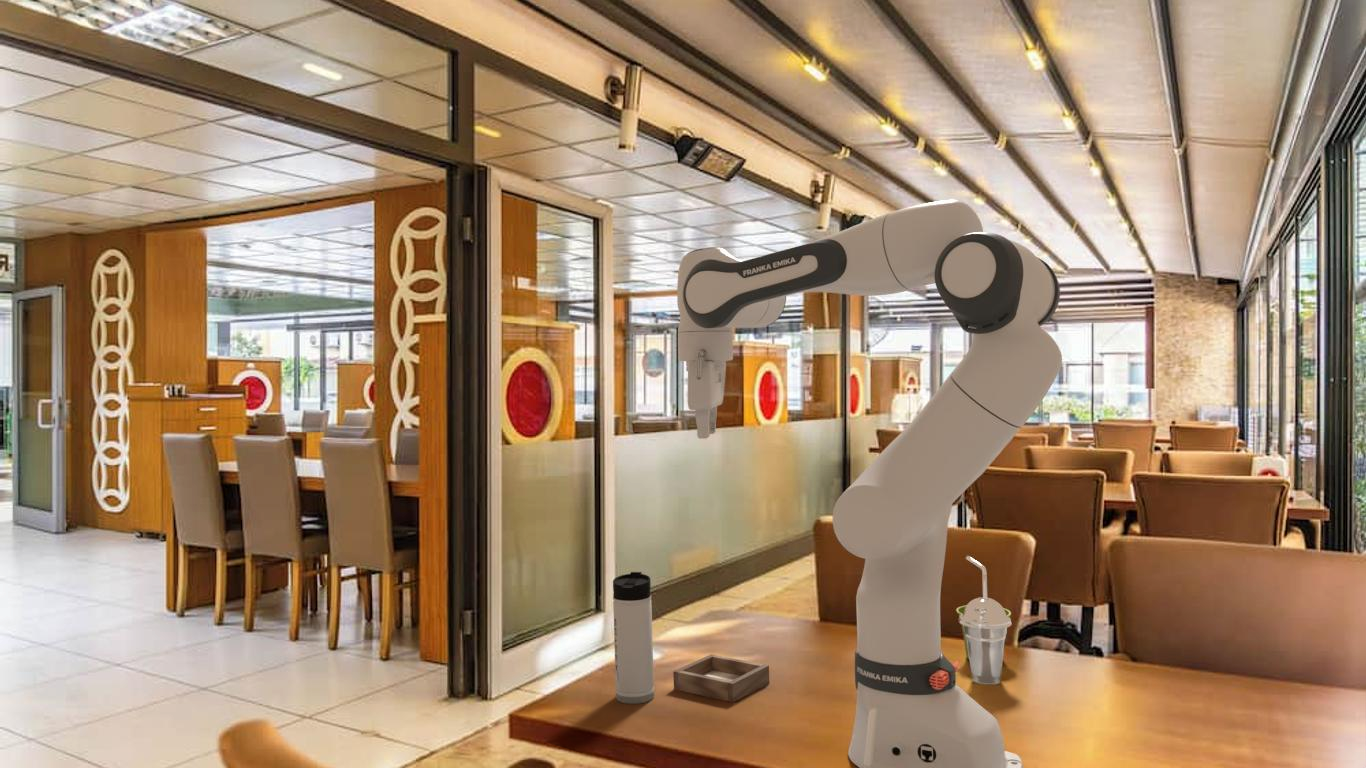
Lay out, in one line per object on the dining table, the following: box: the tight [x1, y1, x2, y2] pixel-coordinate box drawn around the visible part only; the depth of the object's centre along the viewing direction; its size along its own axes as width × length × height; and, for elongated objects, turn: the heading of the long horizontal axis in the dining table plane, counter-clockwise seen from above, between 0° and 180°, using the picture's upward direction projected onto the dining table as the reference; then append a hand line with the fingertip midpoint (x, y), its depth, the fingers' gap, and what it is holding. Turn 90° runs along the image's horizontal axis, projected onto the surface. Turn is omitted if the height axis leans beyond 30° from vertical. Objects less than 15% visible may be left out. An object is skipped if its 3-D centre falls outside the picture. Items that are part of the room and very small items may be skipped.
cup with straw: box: [958, 555, 1013, 685], centre depth 156 cm, size 8×9×20 cm
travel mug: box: [612, 571, 655, 705], centre depth 153 cm, size 6×7×20 cm
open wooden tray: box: [672, 654, 770, 703], centre depth 157 cm, size 12×11×3 cm
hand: (706, 435), depth 150 cm, fingers open, 8 cm apart
